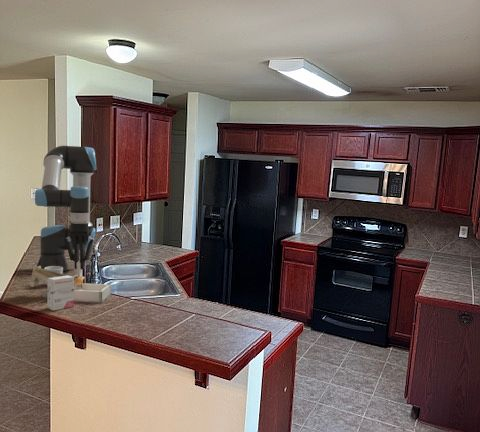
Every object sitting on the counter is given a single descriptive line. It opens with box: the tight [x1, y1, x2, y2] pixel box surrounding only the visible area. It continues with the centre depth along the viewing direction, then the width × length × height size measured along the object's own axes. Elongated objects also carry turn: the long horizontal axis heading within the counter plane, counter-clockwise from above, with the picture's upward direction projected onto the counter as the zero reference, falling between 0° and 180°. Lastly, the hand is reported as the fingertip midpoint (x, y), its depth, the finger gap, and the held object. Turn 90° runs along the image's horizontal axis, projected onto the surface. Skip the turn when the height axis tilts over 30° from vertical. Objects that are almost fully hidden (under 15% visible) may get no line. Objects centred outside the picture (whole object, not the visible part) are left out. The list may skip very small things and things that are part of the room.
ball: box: [75, 277, 84, 286], centre depth 186 cm, size 3×3×3 cm
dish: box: [74, 282, 112, 304], centre depth 186 cm, size 12×12×4 cm
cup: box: [42, 266, 64, 286], centre depth 202 cm, size 11×8×8 cm
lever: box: [29, 266, 86, 290], centre depth 190 cm, size 15×17×8 cm
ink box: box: [46, 275, 75, 311], centre depth 171 cm, size 9×5×12 cm, turn 137°
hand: (79, 276), depth 194 cm, fingers closed
